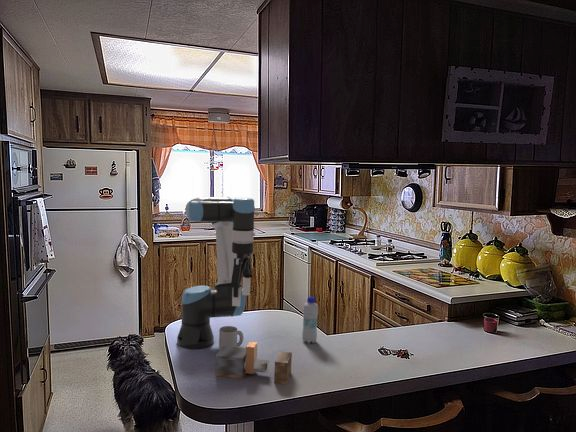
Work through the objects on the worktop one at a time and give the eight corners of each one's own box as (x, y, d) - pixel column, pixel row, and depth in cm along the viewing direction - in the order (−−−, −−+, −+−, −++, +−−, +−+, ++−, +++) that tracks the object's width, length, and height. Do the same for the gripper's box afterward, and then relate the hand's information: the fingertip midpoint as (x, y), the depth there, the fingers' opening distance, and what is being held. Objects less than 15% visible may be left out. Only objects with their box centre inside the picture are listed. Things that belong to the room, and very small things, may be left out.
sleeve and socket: (215, 375, 154) (215, 355, 153) (223, 364, 163) (223, 345, 162) (286, 384, 149) (287, 363, 149) (291, 372, 158) (291, 352, 157)
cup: (217, 347, 178) (217, 326, 177) (241, 345, 181) (241, 324, 180) (220, 355, 171) (221, 333, 170) (245, 352, 174) (246, 330, 173)
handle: (217, 369, 156) (217, 343, 155) (221, 363, 160) (221, 338, 159) (265, 375, 153) (266, 348, 152) (268, 369, 157) (269, 343, 156)
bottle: (317, 339, 191) (319, 295, 189) (316, 345, 184) (318, 299, 182) (302, 338, 191) (303, 294, 189) (301, 344, 185) (302, 298, 183)
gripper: (244, 248, 140) (242, 312, 142) (260, 237, 164) (259, 291, 166) (221, 247, 141) (220, 310, 143) (241, 236, 165) (240, 290, 168)
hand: (241, 300), depth 155 cm, fingers open, 13 cm apart
